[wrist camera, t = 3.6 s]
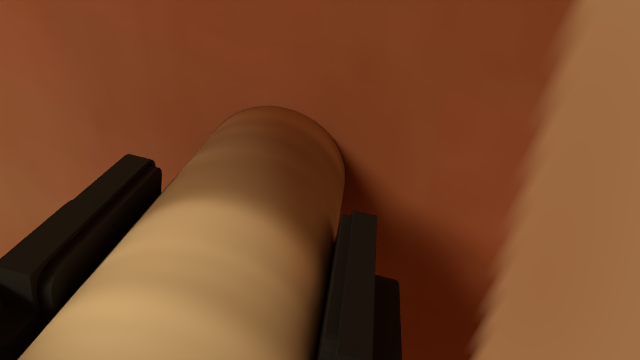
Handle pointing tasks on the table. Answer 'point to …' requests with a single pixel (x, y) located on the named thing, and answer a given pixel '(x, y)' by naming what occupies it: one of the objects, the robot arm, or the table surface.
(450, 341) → the table surface
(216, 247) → the peg
